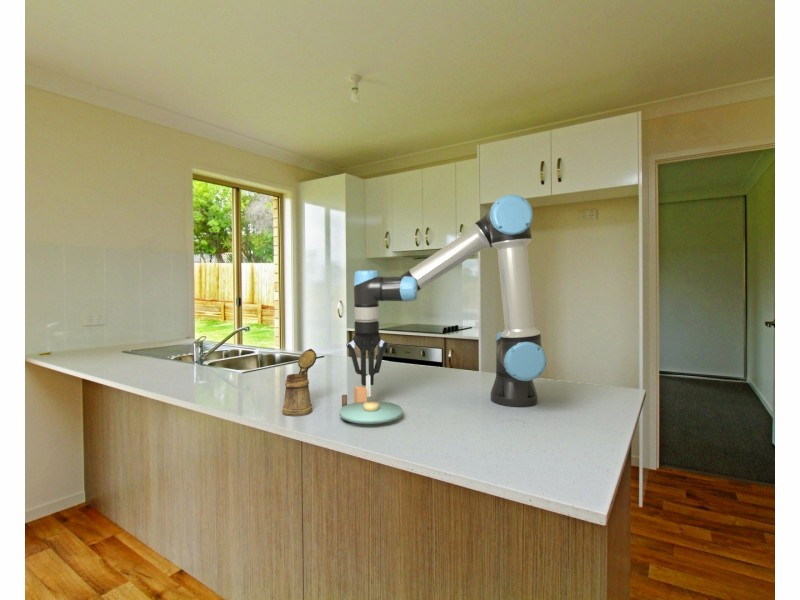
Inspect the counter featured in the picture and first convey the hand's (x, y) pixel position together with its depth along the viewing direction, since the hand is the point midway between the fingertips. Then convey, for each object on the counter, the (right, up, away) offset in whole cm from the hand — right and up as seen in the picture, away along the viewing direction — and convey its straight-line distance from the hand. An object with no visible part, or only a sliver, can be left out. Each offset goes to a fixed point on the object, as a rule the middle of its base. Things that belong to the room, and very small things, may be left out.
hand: (367, 395), depth 136 cm
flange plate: (+1, -3, -9) cm, 9 cm away
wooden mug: (-20, -4, -2) cm, 21 cm away
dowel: (-7, -4, -4) cm, 9 cm away
